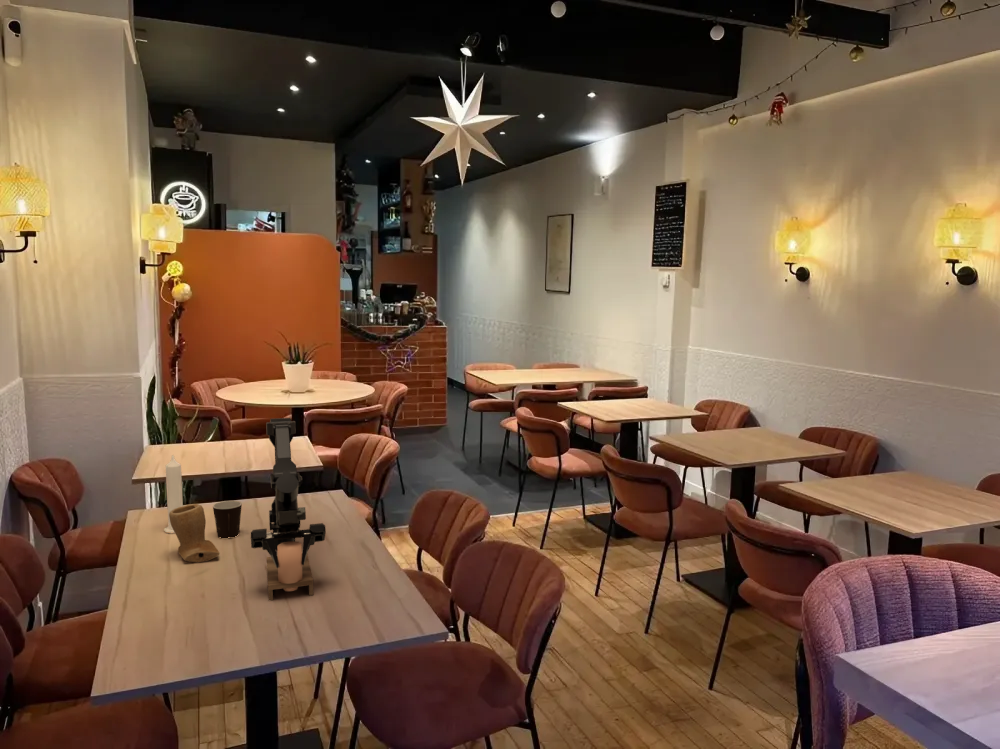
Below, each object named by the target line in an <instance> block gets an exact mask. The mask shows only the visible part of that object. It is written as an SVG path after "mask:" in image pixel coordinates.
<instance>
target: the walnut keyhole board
mask: <svg viewBox="0 0 1000 749" xmlns="http://www.w3.org/2000/svg"><path fill="white" fill-rule="evenodd" d="M277 558H278V555H277ZM266 576H267V577H266V578H267V593H268V601H269V600H271V601H273V600H274V595H273V594H274V591H273V590H280V589H283V588H290V587H298V588H299V587H304V586H305V587H306V586H307V590H309V591H308V595H310V596H314V578H313V573H312V568H311V565H310V560H309V554H308V553H307V555H306V559H305V562H304V565H302V580H300V581H298V582H296V583H291V584H284V583H280V582H279V581H278V568H276V566H275V564H274V561H273V559H272V557H271V556H266Z"/></svg>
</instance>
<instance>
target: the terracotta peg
mask: <svg viewBox="0 0 1000 749" xmlns="http://www.w3.org/2000/svg"><path fill="white" fill-rule="evenodd" d="M276 552H277V556H278V581H279V582H280V583H284V584H291V583H296V582H298V581H300V580H302V552H303V543H301V542H300V541H296V540H295V541H288V542H283V543H281V544H279V545H278V546H277V549H276ZM298 588H299V587H290V588H282V589H283V591H285V592H294V591H297V590H298Z"/></svg>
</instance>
